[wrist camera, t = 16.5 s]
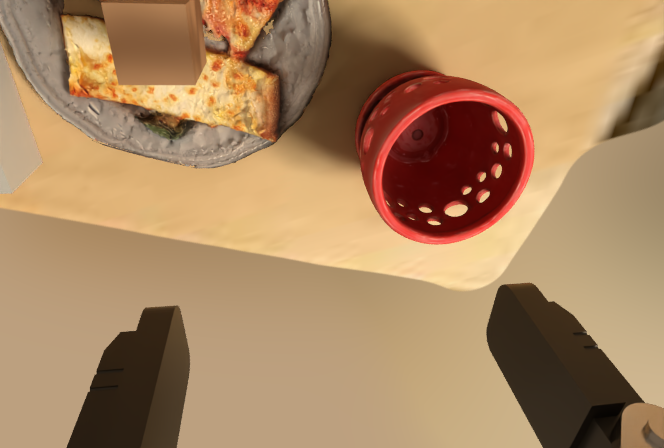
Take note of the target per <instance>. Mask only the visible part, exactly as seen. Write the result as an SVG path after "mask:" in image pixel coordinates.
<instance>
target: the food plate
mask: <svg viewBox="0 0 664 448" xmlns="http://www.w3.org/2000/svg"><path fill="white" fill-rule="evenodd" d="M98 1H100V2H102V1H106V0H98ZM63 2H64V0H0V25H1V27H2V30H3V32H4V33H5V36H6V37H7V40H8V41H9V44H10V45H11V47H12V48H13V52H14V53H13V54H14V56H15V58H16V61H17V63H18V64H19V66H20V67H21V68H22V70H23V71H24V73H25V75H26V78H27V80H29V81H30V83H31V84H32V86H33V87H34V89H35V90H36V92H37V93H38V94H40V96H41V98H42V99H43V100H44V102H46V103H47V104H48V105H49V106H50V107H51V108H52V109H53V110H54V111H55V112H56V113H57V114H59V115H61V117H62V119H64V120H67V122H69V123H71V124H73V125H74V126H75V127H77V128H78V129H80V130H81V131H82V132H84V133H85V134H86V135H87V136H88V137H90V138H92V139H94V140H96V141H100V142H104V143H105V144H107V143H108V145H105V144H102V145H105V146H108V147H111V148H115V147H117V148H115V149H118V150H122V149H124V150H122V151H126V150H128V151H126V152H129V153H133V154H137V155H141V156H144V157H148V158H153V159H157V160H162V161H166V162H170V161H173V162H175V163H174V164H176V163H177V164H179V165H182V164H185V165H184V166H190V165H191V166H193V165H194V166H195V167H193V168H215V167H220V166H224V165H227V164H230V163H235V162H236V161H238V160H240V159H242V158H245V157H247V156H249V155H251V154H252V153H254V152H257V151H259V150H261V149H263V148H267V147H269V146H270V145H273V144H274V143H276V142H277V140H278V139H279V138H280V137H281V135H282V134H283V133H284V132H285V131H286V130H287V129H288V128H289V127H290V126H292V125H293V124H294V123H295V122H296V121H297V120H298V119H299V118H300V117H301V116H302V114H303V113H304V108H305V107H306V106H307V105H308V104H309V103H310V101H311V99H312V97H313V96H312V95H313V93H314V92H315V89H316V88H317V86H318V84H319V82H320V80H321V78H322V76H323V73H324V70H325V68H326V67H325V66H326V63H327V59H328V57H329V49H330V46H331V41H332V40H331V39H332V37H331V35H332V32H331V17H330V11H329V6H328V0H200V4H201V13H202V23H203V32H205V31H208V30H209V31H210V30H211V31H212V33H213V35H214V37H216V38H217V39H218V38H219V37H220V36H221V35H223V36H224V37H225V38H226V39H225V41H214V40H209V39H208V37H204V41H205V50H206V59H207V63H206V65H205V67H204V69H203V71H202V73H201V75H200V77H199V79H198V81H197V83H196V85H119V84H118V80H117V75H116V70H115V66H114V61H113V57H112V52H111V47H110V43H109V38H108V34H107V29H106V24H105V20H104V18H103V19H101V18H98V17H92V16H89V15H85V16H75V15H74V16H73V15H71V16H70V15H69V14H67V15H65V14H63V8H64V3H63ZM271 20H274V21H273V27H274V29H269V32H271V34H269V33H268V34H267V35H266V33H265V31H264V30H263V27H264V26H265V25H266V26H267V25H268V23H267V22H271ZM205 26H206V28H205ZM205 33H206V32H205ZM263 37H264V39H263ZM66 59H67V60H68V64H69V65H68V64H67V63H66ZM100 144H101V143H100ZM109 145H111V146H109ZM112 146H114V147H112ZM130 151H131V152H130ZM168 160H169V161H168ZM173 162H170V163H173ZM181 163H182V164H181Z"/></svg>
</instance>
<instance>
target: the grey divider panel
mask: <svg viewBox="0 0 664 448" xmlns="http://www.w3.org/2000/svg"><path fill="white" fill-rule="evenodd" d="M42 163H43V161H42V159H41V156H40V153H39V150H38V147H37V144H36V142H35V139H34V136H33V133H32V130H31V127H30V125H29V122H28V119H27V116H26V113H25V110H24V107H23V105H22V102H21V99H20V96H19V93H18V90H17V88H16V85H15V82H14V79H13V76H12V73H11V71H10V68H9V65H8V62H7V59H6V56H5V54H4V51H3V48H2V45H1V42H0V194H5V193H13V192H14V191H15V190H16V189H17V188H18V187H19V186H20V185H21V184H22V183H23V182H24V181H25V180H26V179H27V178H28V177H29V176H30V175H31V174H32V173H33V172H34V171H35V170H36V169H37V168H38V167H39V166H40V165H41V164H42Z"/></svg>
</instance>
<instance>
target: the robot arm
mask: <svg viewBox="0 0 664 448" xmlns="http://www.w3.org/2000/svg"><path fill="white" fill-rule="evenodd" d="M487 342H488V346H489V349H490V351H491V353H492V355H493V356H494V358H495V360H496V362H497V364H498V366H499V368H500V369H501V371H502V373H503V375H504V377H505V379H506V381H507V382H508V384H509V386H510V388H511V390H512V392H513V393H514V395H515V397H516V399H517V401H518V403H519V404H520V406H521V408H522V410H523V412H524V414H525V415H526V417H527V419H528V421H529V423H530V425H531V426H532V428H533V430H534V432H535V434H536V436H537V437H538V439H539V441H540V443H541V445H542V447H543V448H664V408H662V407H659V406H656V405H653V404H648V403H645V402H644V401H643V400H642V399H641V398H640V396H639V395H638V394H637V393H636V392H635V390H634V389H633V388H632V387H631V385H630V384H629V383H628V382H627V380H626V379H625V378H624V377H623V376H622V374H621V373H620V372H619V371H618V369H617V368H616V367H615V366H614V365H613V363H612V362H611V361H610V360H609V358H608V357H607V356H606V355H605V353H604V352H603V351H602V350H601V349H598V347H597V346H598V345H597V344H596V343H595V341H594V340H593V339H592V338H591V336H590V335H587V333H586V330H585V329H584V328H583V327H582V325H581V324H580V323H579V322H578V320H577V319H576V318H575V317H574V316H573V315H572V314H571V313H569V312H568V311H567V310H565V309H564V308H562V307H561V306H560V305H558V304H557V303H555V302H548V301H547V300H546V298H545V297H544V296H543V294H542V293H541V292H540V291H539V289H538V288H537V287H536V286H535V285H534V284H532V283H521V284H507V285H502V286H500V287H499V289H498V291H497V294H496V298H495V301H494V305H493V308H492V312H491V315H490V319H489V322H488V326H487ZM189 368H190V355H189V348H188V343H187V338H186V334H185V329H184V324H183V320H182V315H181V311H180V308H179V307H178V306H165V307H150V308H145V309H144V310H143V312H142V315H141V318H140V321H139V324H138V327H137V330H136V331H129V332H120V334H119V335H118V336H117V337H116V338H115V339H114V340H113V341H112V342H111V344H110V345H109V346H108V347H107V348H106V349H105V350H104V353H103V355H102V358H101V360H100V363H99V366H98V368H97V374H96V375H95V376H94V378H93V381H92V384H91V386H90V392H88V394H87V396H86V399H85V402H84V404H83V407H82V410H81V412H80V414H79V417H78V420H77V422H76V425H75V427H74V430H73V433H72V435H71V438H70V440H69V443H68V445H67V448H177V442H178V436H179V431H180V425H181V419H182V413H183V407H184V402H185V396H186V390H187V384H188V378H189V371H190V369H189Z"/></svg>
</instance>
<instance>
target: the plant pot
mask: <svg viewBox="0 0 664 448" xmlns="http://www.w3.org/2000/svg"><path fill="white" fill-rule="evenodd" d="M497 112H498V113H500V114H501V115H502V116H503V117H504V119H505V121H506V123H507V126H508V130H507V132H505V131H504V129H503V128H502V126H501V125H500V122H499V119H498V115H497ZM355 144H356V150H357V153H358V156H359V159H360V165H361V172H362V176H363V180H364V184H365V186H366V189H367V191H368V194H369V196H370V199H371V201H372V203H373V205H374V207H375V208H376V210H377V212H378V213H379V215H380V216H381V218H382V219H383V220H384V222H385V223H386V224H387V225H388V226H389V227H390V228H391V229H393V230H394V231H395V232H397V233H398V234H400V235H402V236H404V237H406V238H408V239H411V240H413V241H417V242H421V243H426V244H449V243H454V242H458V241H462V240H465V239H468V238H471V237H473V236H475V235H477V234H479V233H481V232H483V231H485V230H486V229H488V228H489V227H491V226H492V225H494V224H495V223H496V222H497V221H499V220H500V219H501V218H502V217H503V216H504V215H505V214H506V213H507V212H508V211H509V210H510V209H511V208H512V206H513V205H514V204H515V202H516V201H517V200H518V198H519V197H520V195H521V193H522V192H523V190H524V188H525V186H526V184H527V182H528V179H529V177H530V174H531V170H532V167H533V162H534V140H533V135H532V132H531V128H530V126H529V124H528V122H527V120H526V118H525V116H524V115H523V113H522V112H521V111H520V110H519V108H518V107H517V106H515V105H514V104H513V103H512V102H511V101H509V100H508V99H506V98H505V97H504V96H502V95H501V94H499V93H497V92H496V91H494V90H492V89H490V88H488V87H486V86H484V85H482V84H479V83H477V82H474V81H471V80H467V79H464V78H459V77H452V76H446V75H444V74H441V73H438V72H434V71H428V70H417V71H410V72H405V73H402V74H399V75H397V76H395V77H393V78H391V79H389V80H387V81H386V82H384V83H383V84H382V85H381V86H379V87H378V88H377V89H376V90H375V91H374V92H373V93H372V94H371V95H370V97H369V98H368V99H367V101H366V102H365V104H364V106H363V107H362V109H361V112H360V114H359V117H358V120H357V124H356V130H355ZM497 144H498V145H499V151H498V153H497V151H496V145H497ZM510 145H511V148H512V156H511V157H510V155H509V146H510ZM499 165H501V166H502V173H501V175H500V177H499V178H496V176H495V172H496V169H497V167H498V166H499ZM483 173H486V178H485V179H484V181H482V182H480V177H481V175H482V174H483ZM469 187H471V188H472V190H471V192H470V193H468V194H466V195H463V192H464V190H465V189H467V188H469ZM489 191H490V195H489V197H488V198H487V199H486V200H485V201H484V202H482V203H480V202H479V200H480V198H481V196H482V195H483V194H484V193H486V192H489ZM386 201H387V202H388V203H389V205H390V206H389V205H388V204H387V202H386ZM398 203H400V204H402V205H403V206H404V207H402V206H400V205H399V204H398ZM458 204H462V205H466V206H467V207H468V210H467V212H466V213H465V214H463V215H461V216H458V217H451V216H449V215H446V214H445V210H446V209H447V208H449V207H451V206H454V205H458ZM421 207H426V208H429V209H431V210H432V212H431V213H424V212H421V211H420V210H419V208H421ZM409 217H410V218H413V219H415V220H412V219H410V218H409ZM428 221H437V222H439V223H441V224H440V225H431V224H429V223H428Z"/></svg>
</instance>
